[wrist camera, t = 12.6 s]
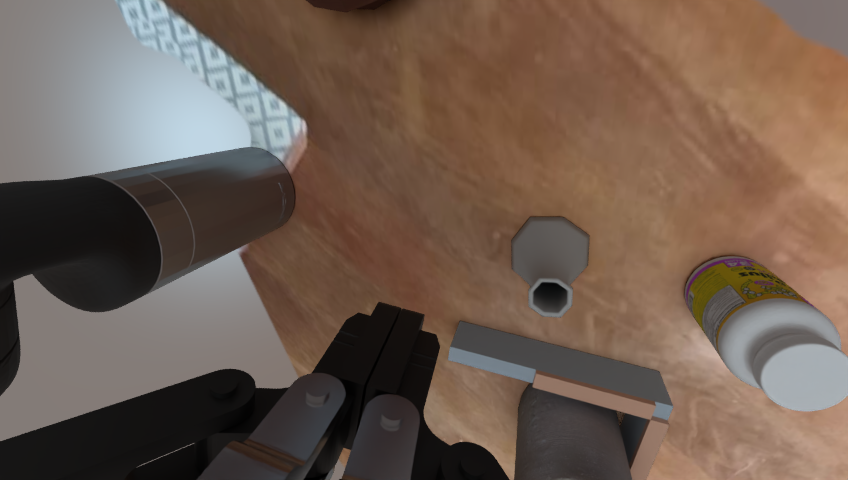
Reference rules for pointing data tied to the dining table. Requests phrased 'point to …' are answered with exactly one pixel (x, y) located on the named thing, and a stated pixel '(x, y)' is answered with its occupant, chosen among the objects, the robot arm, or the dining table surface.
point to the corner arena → (577, 383)
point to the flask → (550, 262)
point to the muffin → (347, 4)
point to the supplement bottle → (768, 333)
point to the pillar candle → (567, 440)
